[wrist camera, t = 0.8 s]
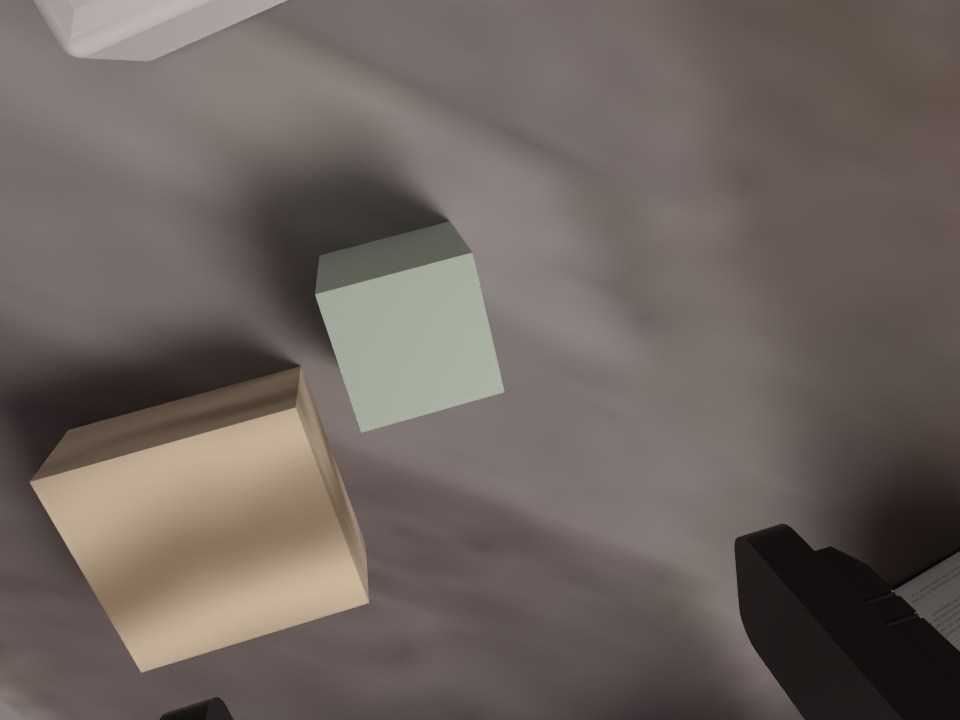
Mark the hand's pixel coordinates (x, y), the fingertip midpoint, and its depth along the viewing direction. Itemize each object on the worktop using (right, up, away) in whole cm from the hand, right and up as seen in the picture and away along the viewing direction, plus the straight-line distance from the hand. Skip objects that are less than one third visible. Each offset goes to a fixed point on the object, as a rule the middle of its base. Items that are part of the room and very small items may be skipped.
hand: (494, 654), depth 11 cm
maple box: (-11, -1, +18) cm, 21 cm away
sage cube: (-3, +7, +16) cm, 18 cm away
